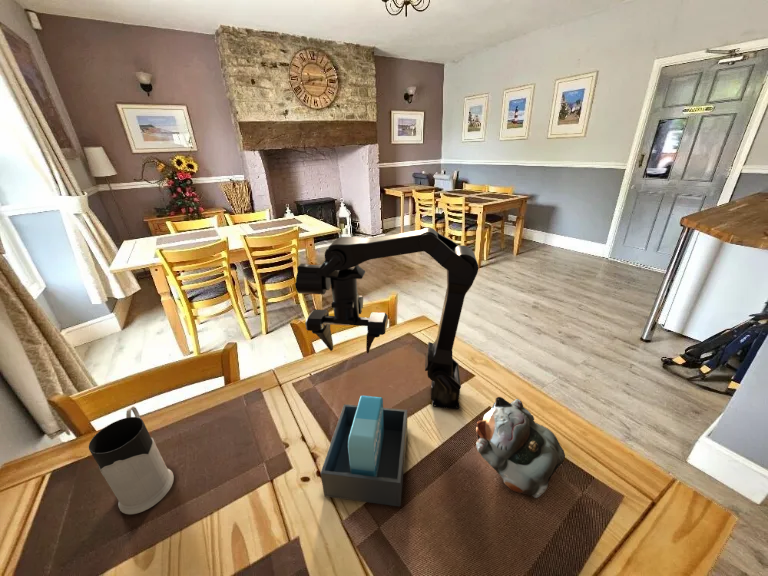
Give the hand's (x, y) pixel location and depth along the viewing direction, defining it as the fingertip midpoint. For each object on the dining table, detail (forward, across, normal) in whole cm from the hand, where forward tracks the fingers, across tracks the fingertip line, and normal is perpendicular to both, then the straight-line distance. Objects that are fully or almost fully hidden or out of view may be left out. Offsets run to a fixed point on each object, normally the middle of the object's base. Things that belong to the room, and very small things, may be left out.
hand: (349, 351), depth 76 cm
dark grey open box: (+13, -8, +19) cm, 24 cm away
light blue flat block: (+13, -8, +19) cm, 24 cm away
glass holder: (+13, +35, +28) cm, 47 cm away
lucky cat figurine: (+13, -37, +16) cm, 42 cm away
